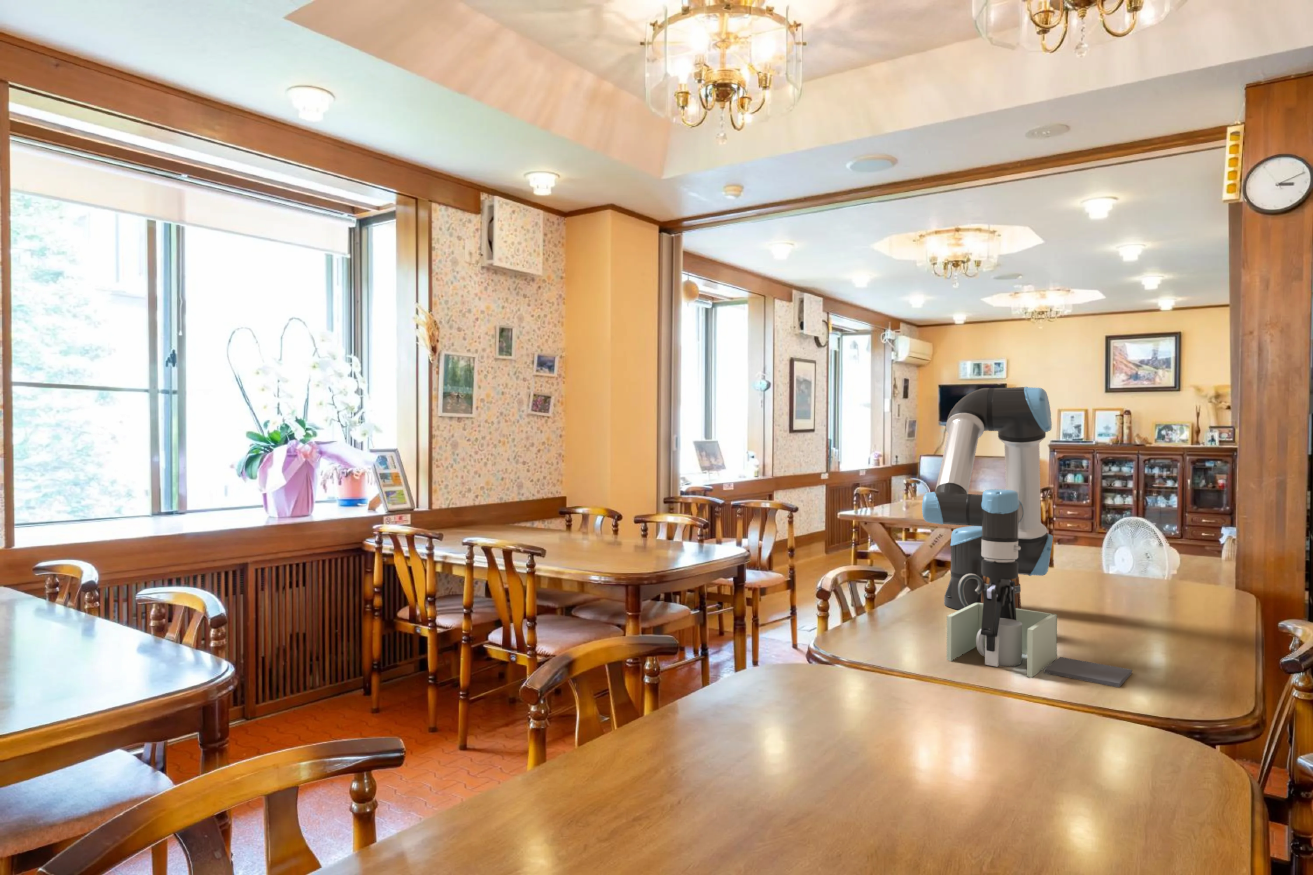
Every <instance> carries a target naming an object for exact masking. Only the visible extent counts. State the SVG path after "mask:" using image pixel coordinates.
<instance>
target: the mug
mask: <svg viewBox="0 0 1313 875" xmlns="http://www.w3.org/2000/svg"><path fill="white" fill-rule="evenodd" d="M968 579H976V580H977V581H978V587H977V589H976V590H975V591H976V592H977V593H978V594H980V593H981V592H982V596H981V603H983V602H984V595H983V590H984V588H988V585H989V581H990V579H989V578H988V577H985V576H983V580H982V579H981V578H980V577H979V576H977V575H975V574H966V575H964V576H963V577H962V578H961V579H960V581H959V584H958V593H959V598H960V601H961V603H962V604H963V606H964V607H967V606H969V605H968V604H967V602H966V600H965V596H964V584H965V583H966V581H967V580H968ZM1010 581H1015V606H1016V608H1017V609H1022V600H1021V590H1022V588H1021V583H1020V576H1018V577H1017V578H1015V579H1010Z"/></svg>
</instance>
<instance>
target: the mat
mask: <svg viewBox="0 0 1313 875" xmlns="http://www.w3.org/2000/svg"><path fill="white" fill-rule="evenodd" d="M1043 670H1044V672H1043V673H1044V674H1048V675H1053V676H1058V677H1059V676H1060V677H1064V678H1069V679H1074V680H1080V681H1085V682H1089V683H1095V684H1100V685H1104V686H1105V685H1106V686H1108V687H1109V686H1110V687H1115V688H1121V686H1122V685H1123V684H1124V683H1125V682H1126V681H1127V679H1128V678H1130V676H1131V675H1132V674H1133V669H1130V668H1124V667H1119V666H1114V665H1107V664H1102V663H1097V662H1093V661H1092V662H1091V661H1087V660H1080V659H1074V658H1069V657H1064V656H1059V657H1058V658H1057V659H1055V660H1054V661H1053V662H1051V663H1050V664H1049V665H1048V666H1046V667H1045V668H1044V669H1043Z"/></svg>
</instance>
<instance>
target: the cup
mask: <svg viewBox="0 0 1313 875" xmlns="http://www.w3.org/2000/svg"><path fill="white" fill-rule="evenodd" d="M984 636H985V635H981V629H980V630H979V631H978V633H977V637H976V646H977V647H976V649H977V652H978V653H979V654H980V655H981V656H983V657H985V646H984V645H983V640H984ZM997 636H999V666H1002V667H1017V666H1020V665H1021V664H1022V660H1023V653H1022V623H1021V622H1019V621H1017V620H1012V619H1006V618H1000V620H999V627H998V633H997Z"/></svg>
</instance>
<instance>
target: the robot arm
mask: <svg viewBox="0 0 1313 875" xmlns="http://www.w3.org/2000/svg"><path fill="white" fill-rule="evenodd" d="M945 424H946V425H945V429H946V431H947V437H946V442H945V447H944V451H943V455H942V460H941V464H940V468H939V472H938V476H937V481H936V486H935V490H934V491H930V492H929V491H928V492H925V494H923V496H922V502H921V503H922V504H921V510H922V511H921V512H922V513H921V514H922V518H923V520H924V521H925V522H926V523H930V524H936V525H937V524H938V525H954V526H962V527H957V528H955V529H953V531H952V532H951V536H950V537H951V538H950V539H951V540H950V544H949V546H950V580H949V582H948V584H947V585H948V586H947V588H946V591H945V594H944V598H943V604H944V605H945V607H948V608H950V609H954V610H957V611H959V610H961V609H963V608H965V607H964V606H963V604H962V603H961V601H960V598H959V593H958V584H959V581H960V579H961V578H962V577H963V576H964V575H966V574H975V575H977V576H979V577H980V578H981V579H982V580H983V576H985V577H988V578H989V579H990V581H989V585H988V588H984V590H983V595H984V602H983V615H982V628H981V635H985V646H984V648H985V656H984V665H985V666H986V665H987V666H991V667H996V668H998V667H999V666H1000V665H999V636H997V633H998V627H999V620H1000V618H1006V619H1012V620H1016V606H1015V581H1010V579H1015V578H1017V577H1019V575H1022V576H1023V575H1024V576H1029V577H1031V576H1038V577H1039V576H1040V577H1042V576H1043V577H1044V576H1045V575H1047V574H1048V572H1049V567H1050V560H1051V553H1052V546H1053V540H1054V536H1053V535H1052V534H1050V533H1048V529H1047V527H1046V526H1045V524H1043V523H1042V520H1041V519H1042V515H1041V514H1042V511H1041V509H1042V508H1041V505H1042V504H1041V465H1040V463H1041V462H1040V461H1041V460H1040V459H1041V458H1040V457H1041V456H1040V453H1041V452H1040V443H1041V442H1042V441H1044V440H1045V438H1047V436H1046V433H1048V432H1051V431H1052V427H1053V426H1052V425H1053V423H1052V412H1051V407H1050V400H1049V396H1048V394H1047V392H1046V390H1045V389H1043V388H1041V387H1028V386H1017V387H1016V386H1014V387H993V388H991V387H983V388H979V389H976V390H974V391H972V392H969V393H968V394H966V395H965V396H963V397H962V398H961V399H960V400H958V402H956V403H955V405H954V406H953V408H951V410H950V412H949V414H948V416H947V420H946V423H945ZM986 431H987V432H988V431H989V432H997V437H998V438H997V439H998V440H999V441H1001V442H1002V443H1003V444H1004V467H1005V471H1004V473H1005V477H1004V478H1005V489H1003V488H1002V489H999V488H995V489H992V488H991V489H986V490H985V489H984V491H983V492H982V494H976V493H974V494H973V493H969V490H970V486H971V480H972V479H971V478H972V474H973V470H974V469H973V468H974V465H975V464H974V463H975V459H976V453H977V448H978V447H977V446H978V441H979V439H980V438H981V437H982V436H983V434H984V433H985V432H986ZM977 587H978V581H977V580H976V579H968V580H967V581H966V583H965V584H964V596H965V600H966V602H967V604H968V605H971V604H974V603H976V602H977V603H981V596H982V592H981V593H980V594H978V593H977V592H976V591H975V590H976V589H977Z"/></svg>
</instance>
